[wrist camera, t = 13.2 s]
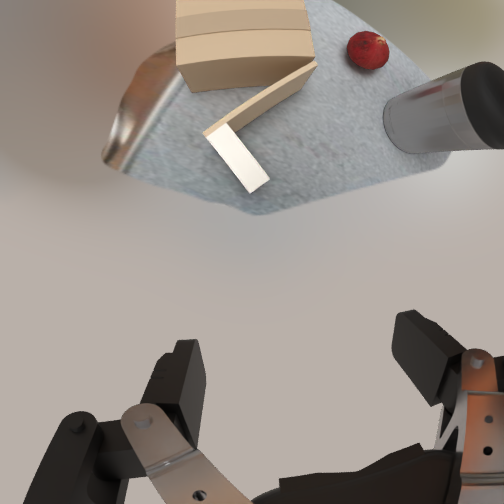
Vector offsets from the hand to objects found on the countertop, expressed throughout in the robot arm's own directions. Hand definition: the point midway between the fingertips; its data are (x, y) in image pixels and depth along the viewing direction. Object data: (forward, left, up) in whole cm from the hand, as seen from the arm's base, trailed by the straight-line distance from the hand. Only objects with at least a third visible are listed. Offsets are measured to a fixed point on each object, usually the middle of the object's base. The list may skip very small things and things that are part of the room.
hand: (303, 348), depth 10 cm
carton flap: (-3, -12, -27) cm, 30 cm away
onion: (-17, -24, -28) cm, 41 cm away
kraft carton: (0, -24, -28) cm, 37 cm away
